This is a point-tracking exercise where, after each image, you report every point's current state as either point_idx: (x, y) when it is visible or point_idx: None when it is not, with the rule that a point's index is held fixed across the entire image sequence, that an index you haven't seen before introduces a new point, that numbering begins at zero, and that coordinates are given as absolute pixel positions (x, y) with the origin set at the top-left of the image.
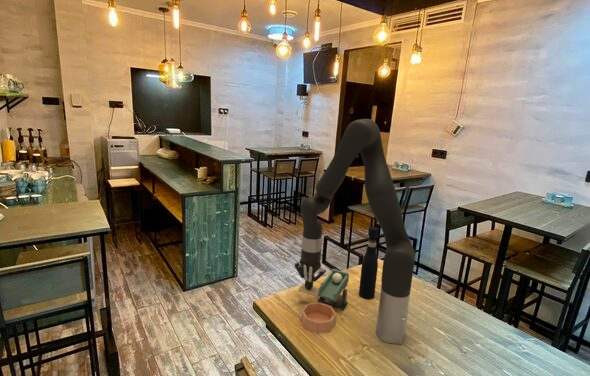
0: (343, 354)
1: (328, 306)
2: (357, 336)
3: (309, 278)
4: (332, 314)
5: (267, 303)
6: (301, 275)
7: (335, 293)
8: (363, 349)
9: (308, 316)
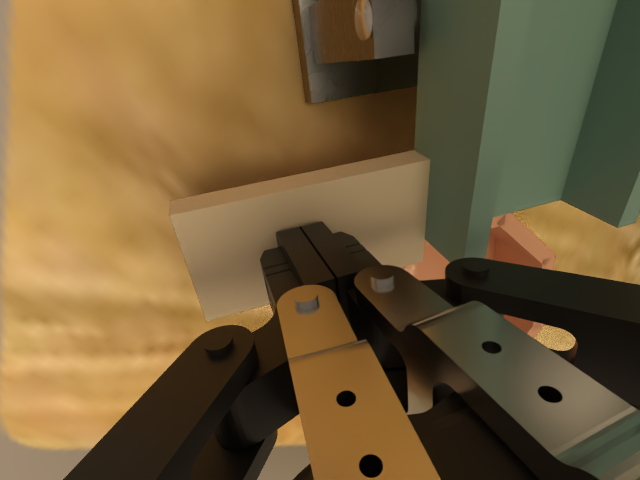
0: (568, 346)
1: (491, 225)
2: (607, 226)
3: (395, 392)
4: (516, 246)
5: (28, 403)
6: (240, 459)
7: (634, 214)
8: (630, 273)
9: None
